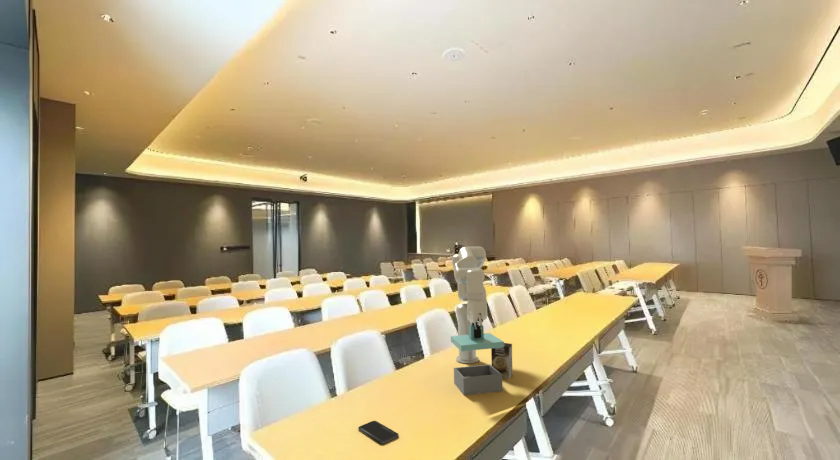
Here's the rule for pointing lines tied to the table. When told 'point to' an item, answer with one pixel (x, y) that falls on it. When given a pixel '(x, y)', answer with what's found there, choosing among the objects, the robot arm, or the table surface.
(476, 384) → the tub
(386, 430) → the phone
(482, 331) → the lid
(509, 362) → the coffee box
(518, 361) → the table surface
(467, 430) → the table surface
